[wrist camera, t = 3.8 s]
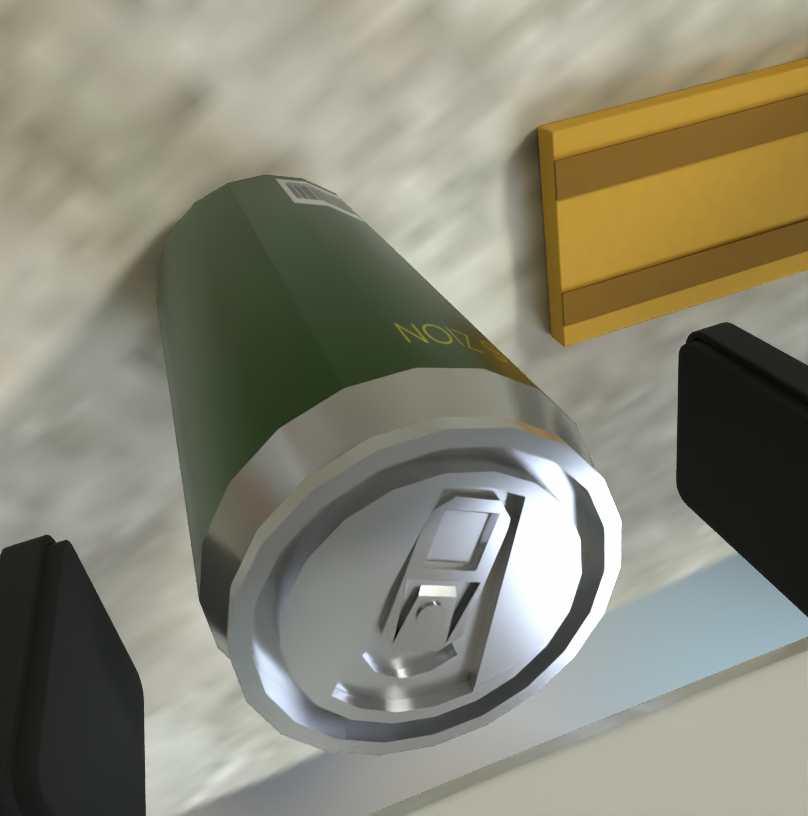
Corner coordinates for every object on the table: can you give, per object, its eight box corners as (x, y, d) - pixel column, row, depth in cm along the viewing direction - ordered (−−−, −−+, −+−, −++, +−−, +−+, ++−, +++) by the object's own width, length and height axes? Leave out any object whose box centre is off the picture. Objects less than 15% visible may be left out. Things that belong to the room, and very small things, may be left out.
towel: (550, 336, 23) (565, 349, 22) (536, 126, 19) (553, 132, 19) (911, 223, 25) (936, 231, 24) (951, 20, 22) (980, 22, 21)
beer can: (178, 139, 17) (274, 369, 7) (399, 199, 19) (708, 438, 9) (136, 359, 19) (163, 781, 9) (340, 391, 21) (543, 756, 11)
